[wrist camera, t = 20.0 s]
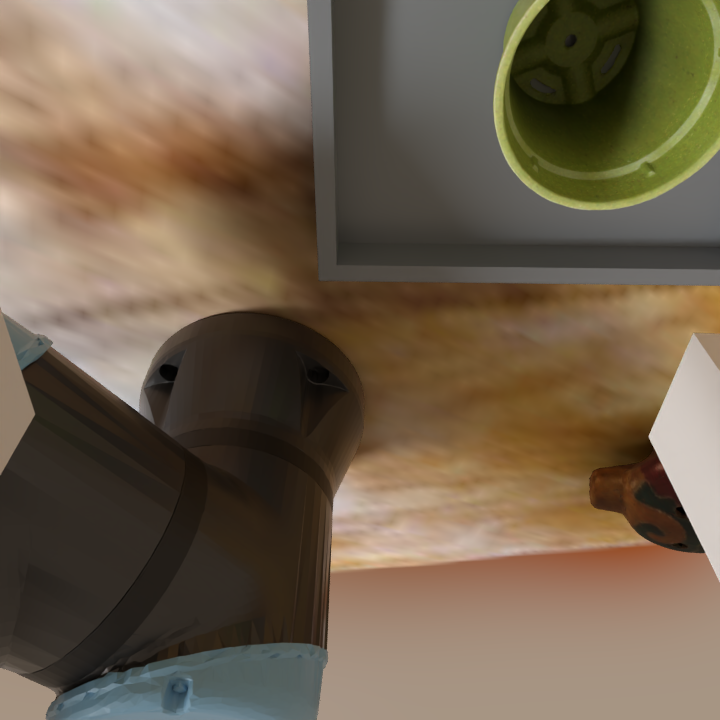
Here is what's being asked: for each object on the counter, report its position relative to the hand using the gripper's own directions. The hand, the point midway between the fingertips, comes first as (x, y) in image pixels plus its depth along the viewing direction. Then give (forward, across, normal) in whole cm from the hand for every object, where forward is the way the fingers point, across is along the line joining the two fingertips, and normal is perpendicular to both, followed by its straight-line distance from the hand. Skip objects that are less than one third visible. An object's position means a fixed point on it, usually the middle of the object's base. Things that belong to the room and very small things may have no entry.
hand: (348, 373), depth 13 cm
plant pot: (+24, -10, -2) cm, 26 cm away
